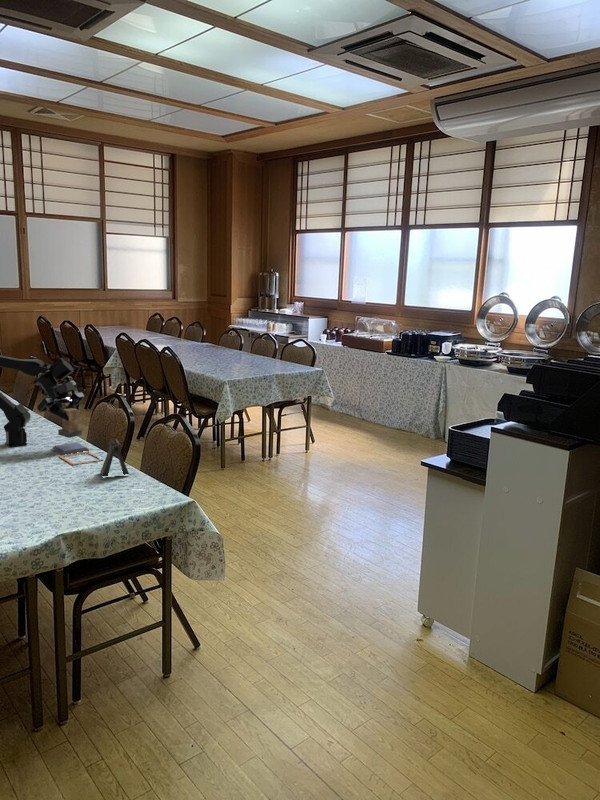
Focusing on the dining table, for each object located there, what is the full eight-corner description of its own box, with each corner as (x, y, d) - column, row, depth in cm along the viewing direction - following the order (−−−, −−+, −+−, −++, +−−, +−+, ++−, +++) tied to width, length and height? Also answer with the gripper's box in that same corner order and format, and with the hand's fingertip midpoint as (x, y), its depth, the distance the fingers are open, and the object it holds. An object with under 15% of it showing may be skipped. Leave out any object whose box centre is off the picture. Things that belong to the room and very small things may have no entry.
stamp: (69, 437, 229) (68, 412, 227) (58, 434, 232) (58, 409, 230) (81, 434, 234) (81, 409, 232) (71, 432, 237) (71, 407, 235)
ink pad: (63, 455, 227) (63, 451, 227) (52, 449, 234) (52, 445, 234) (88, 451, 234) (88, 447, 234) (77, 445, 241) (77, 441, 241)
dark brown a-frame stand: (101, 478, 204) (101, 443, 202) (100, 473, 209) (100, 439, 207) (129, 476, 207) (129, 442, 205) (127, 471, 213) (127, 438, 211)
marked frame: (73, 465, 216) (73, 464, 216) (58, 457, 225) (58, 455, 225) (104, 460, 224) (104, 459, 223) (89, 452, 233) (89, 451, 232)
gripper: (41, 376, 222) (64, 410, 220) (80, 371, 239) (102, 403, 236) (27, 395, 227) (49, 428, 225) (66, 389, 244) (87, 419, 241)
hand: (72, 419), depth 231 cm, fingers closed on stamp, 4 cm apart
